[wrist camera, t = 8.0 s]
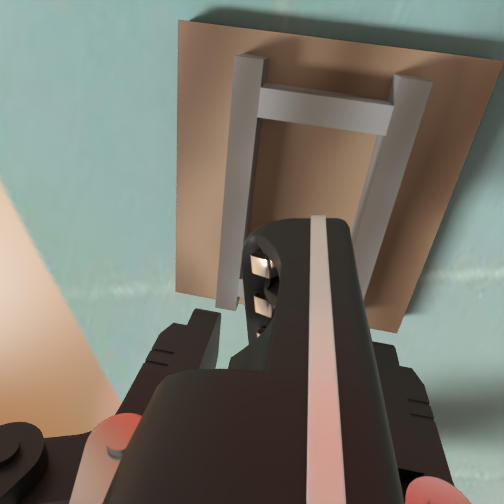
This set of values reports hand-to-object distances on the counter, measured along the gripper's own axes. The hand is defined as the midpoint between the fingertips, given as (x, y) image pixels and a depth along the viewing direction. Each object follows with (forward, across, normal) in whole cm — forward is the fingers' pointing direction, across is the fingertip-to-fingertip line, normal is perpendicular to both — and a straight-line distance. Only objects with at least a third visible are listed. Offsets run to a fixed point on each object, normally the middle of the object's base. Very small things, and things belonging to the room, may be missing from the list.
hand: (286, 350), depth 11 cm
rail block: (+12, 0, 0) cm, 12 cm away
